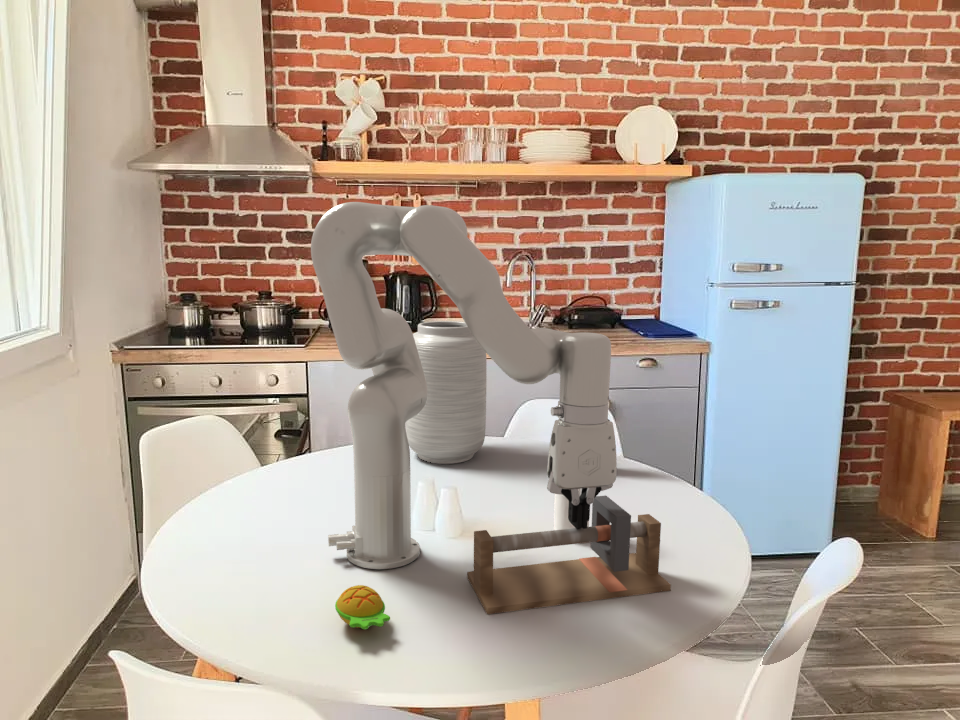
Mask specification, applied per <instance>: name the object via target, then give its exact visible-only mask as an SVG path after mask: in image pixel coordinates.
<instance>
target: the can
mask: <svg viewBox="0 0 960 720" xmlns="http://www.w3.org/2000/svg"><path fill="white" fill-rule="evenodd" d="M578 490H579V496H580V490H581V488H579V489H578ZM553 501H554V502H553V503H554V505H553V506H554V507H553V508H554V509H553V530H562V529H572V528H575V527H574V526H573V525H572V524H571V523H570V521H569V519H568V507H569V500H568V499H567V498H566V497H565V496H564V495H561V494H554V500H553ZM589 525H590V520H589V521H587V527H590V526H589Z"/></svg>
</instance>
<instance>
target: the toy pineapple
mask: <svg viewBox="0 0 960 720" xmlns="http://www.w3.org/2000/svg"><path fill="white" fill-rule="evenodd" d="M334 607H335V611H336V612H337V614H338V616H339V618H340V619H341V621H343V622H344V623H345V624H346V625H348V626H349V627H350V628H356V629H359V628H361V629H362V630H368V629H369V628H370V627H371V626H376V627H379V628H380V627H383V626H384V625H385V622H389V621H390V620H391V617H390V615H388V614H387V613H385V610H386V604H385V602H384V600H383V599H382V598H381V595H380V594H379V593H378V591H376V590H375V589H374V588H372V587H370V586H368V585H363V584H358V585H353V586H349V587H347V589H345V590H344V591H343V592H342V593H341V594H340V595H339V597H338V598H337V600H336V602H335V604H334Z"/></svg>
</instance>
